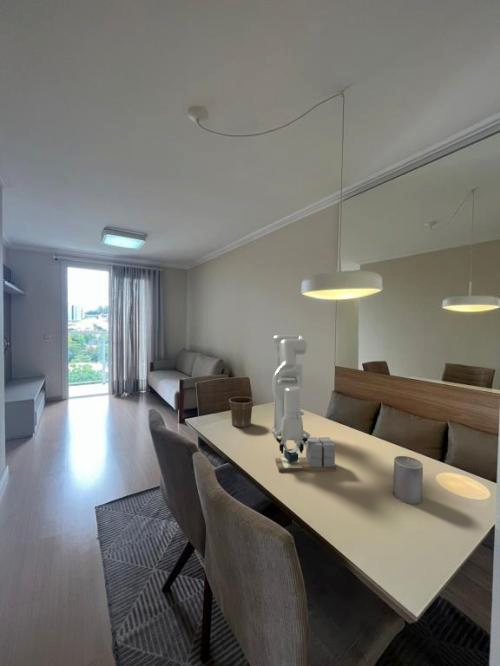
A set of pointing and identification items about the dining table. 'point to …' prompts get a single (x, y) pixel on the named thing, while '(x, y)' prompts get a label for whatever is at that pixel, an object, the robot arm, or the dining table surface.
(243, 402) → the plant pot
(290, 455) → the watch
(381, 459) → the dining table surface
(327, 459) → the wood and grey tray
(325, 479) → the dining table surface
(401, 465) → the pillar candle
